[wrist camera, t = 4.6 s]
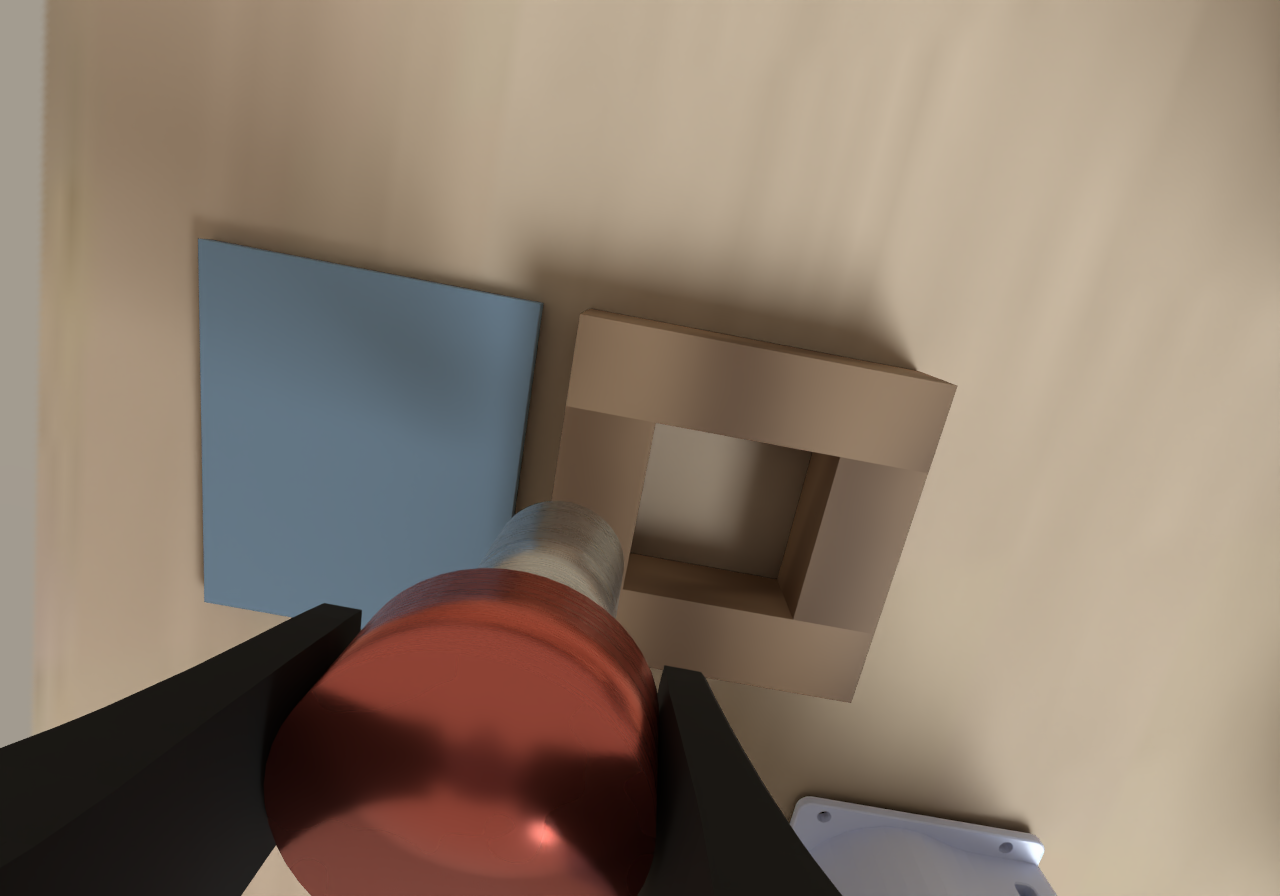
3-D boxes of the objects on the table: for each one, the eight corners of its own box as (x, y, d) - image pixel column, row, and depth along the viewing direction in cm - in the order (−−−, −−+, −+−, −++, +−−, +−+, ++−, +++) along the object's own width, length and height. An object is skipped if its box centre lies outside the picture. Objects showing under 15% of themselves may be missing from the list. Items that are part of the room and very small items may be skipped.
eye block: (918, 371, 19) (957, 386, 16) (829, 654, 22) (850, 702, 19) (589, 308, 18) (580, 313, 16) (542, 604, 21) (528, 646, 19)
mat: (543, 303, 18) (540, 303, 18) (496, 643, 22) (492, 652, 21) (210, 239, 18) (198, 238, 18) (214, 594, 21) (204, 602, 21)
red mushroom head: (683, 486, 14) (696, 700, 7) (640, 669, 15) (615, 998, 8) (469, 442, 13) (268, 613, 7) (446, 629, 15) (259, 927, 8)
